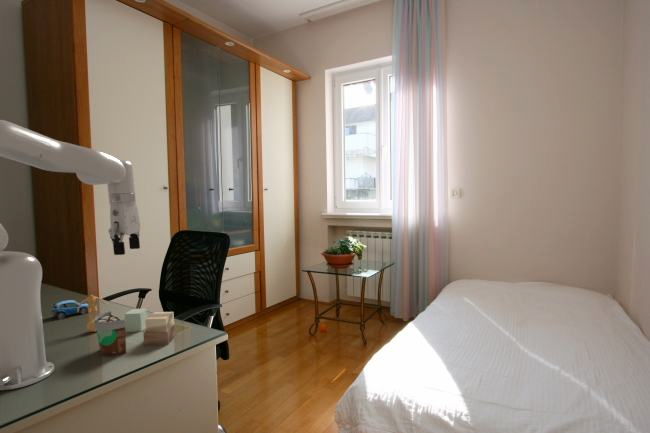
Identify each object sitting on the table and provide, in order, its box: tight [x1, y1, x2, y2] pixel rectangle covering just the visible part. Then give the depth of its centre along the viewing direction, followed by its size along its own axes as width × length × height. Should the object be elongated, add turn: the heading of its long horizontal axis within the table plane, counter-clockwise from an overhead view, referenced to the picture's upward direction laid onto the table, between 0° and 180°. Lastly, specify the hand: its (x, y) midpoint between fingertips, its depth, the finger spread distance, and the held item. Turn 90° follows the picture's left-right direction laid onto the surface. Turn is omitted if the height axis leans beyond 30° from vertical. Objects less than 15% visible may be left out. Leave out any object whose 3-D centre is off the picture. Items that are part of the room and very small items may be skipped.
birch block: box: [145, 311, 175, 332], centre depth 114 cm, size 6×6×4 cm
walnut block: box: [143, 323, 178, 347], centre depth 115 cm, size 7×7×4 cm
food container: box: [93, 311, 127, 357], centre depth 107 cm, size 12×6×10 cm, turn 47°
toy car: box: [49, 299, 90, 320], centre depth 142 cm, size 6×12×6 cm, turn 133°
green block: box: [124, 307, 149, 333], centre depth 125 cm, size 5×5×6 cm
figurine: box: [77, 294, 108, 333], centre depth 124 cm, size 8×6×12 cm
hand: (127, 251), depth 123 cm, fingers open, 9 cm apart
